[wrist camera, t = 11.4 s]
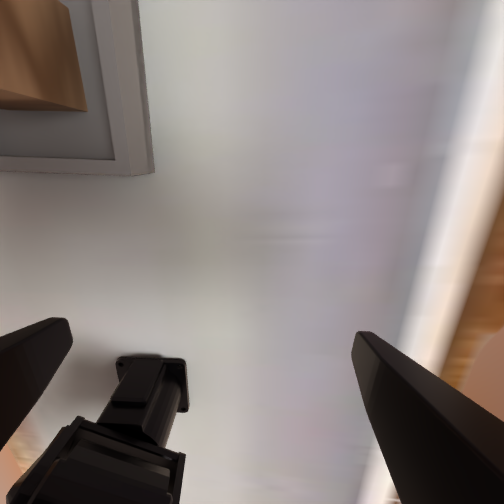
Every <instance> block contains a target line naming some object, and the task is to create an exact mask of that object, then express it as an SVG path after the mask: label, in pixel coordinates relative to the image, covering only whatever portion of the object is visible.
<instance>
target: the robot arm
mask: <svg viewBox="0 0 504 504" xmlns="http://www.w3.org/2000/svg"><path fill="white" fill-rule="evenodd" d="M72 343H73V337H72V334H71V330H70V326H69V323H68V320H67V319H65V318H59V317H51V318H48V319H45V320H43V321H40V322H37V323H35V324H32V325H30V326H27V327H24V328H22V329H19V330H17V331H14V332H12V333H9V334H6V335H4V336H1V337H0V451H1V450H2V448H3V447H4V446H5V444H6V443H7V441H8V440H9V439H10V437H11V436H12V435H13V433H14V432H15V431H16V429H17V428H18V427H19V425H20V424H21V422H22V421H23V420H24V418H25V417H26V416H27V414H28V413H29V412H30V410H31V409H32V408H33V406H34V405H35V403H36V402H37V401H38V399H39V398H40V396H41V395H42V393H43V392H44V390H45V389H46V387H47V386H48V384H49V382H50V381H51V379H52V378H53V376H54V374H55V373H56V371H57V369H58V368H59V366H60V365H61V363H62V361H63V360H64V358H65V356H66V355H67V353H68V352H69V350H70V348H71V346H72ZM351 357H352V362H353V366H354V369H355V373H356V377H357V380H358V384H359V388H360V391H361V395H362V399H363V402H364V406H365V409H366V412H367V415H368V418H369V420H370V423H371V425H372V428H373V431H374V433H375V436H376V438H377V441H378V444H379V446H380V449H381V451H382V454H383V457H384V459H385V462H386V464H387V467H388V470H389V472H390V475H391V477H392V480H393V483H394V485H395V488H396V490H397V493H398V496H399V498H400V501H401V503H402V504H504V422H503V421H502V420H500V419H498V418H497V417H496V416H494V415H493V414H491V413H489V412H488V411H487V410H485V409H484V408H482V407H481V406H480V405H478V404H477V403H475V402H474V401H472V400H471V399H469V398H468V397H466V396H465V395H463V394H462V393H461V392H459V391H458V390H456V389H455V388H453V387H452V386H450V385H449V384H447V383H446V382H444V381H443V380H441V379H440V378H439V377H437V376H436V375H434V374H433V373H431V372H430V371H428V370H427V369H425V368H424V367H422V366H421V365H419V364H418V363H417V362H415V361H414V360H412V359H411V358H409V357H408V356H406V355H405V354H403V353H402V352H400V351H399V350H397V349H396V348H395V347H393V346H392V345H390V344H389V343H387V342H386V341H384V340H383V339H381V338H380V337H378V336H377V335H375V334H374V333H372V332H370V331H358V332H357V333H356V335H355V339H354V343H353V348H352V352H351ZM179 365H181V366H179ZM116 369H117V373H118V378H119V385H118V386H117V388H116V389H115V391H114V393H113V394H112V396H111V398H110V401H109V402H108V404H107V406H106V407H105V409H104V411H103V412H102V414H101V415H100V417H99V419H98V420H97V422H96V423H93V422H90V421H88V420H85V418H84V417H81V416H77V417H76V418H75V420H74V421H73V422H72V423H71V425H70V426H69V425H67V426H66V427H62V428H61V430H60V431H59V433H58V434H57V435H56V437H55V438H54V439H53V441H52V442H51V444H50V445H49V446H48V448H47V449H46V450H45V451H44V453H43V454H42V455H41V456H40V457H39V458H38V459H37V460H36V461H35V462H34V463H33V464H32V466H31V467H30V468H29V469H28V470H27V471H26V472H25V473H24V474H23V475H22V476H21V477H20V478H19V479H18V480H17V482H16V483H15V484H14V485H13V486H12V488H11V489H10V491H9V492H8V494H7V495H6V504H179V501H180V494H181V487H182V479H183V472H184V465H185V458H186V454H184V453H181V452H179V453H177V452H174V451H171V450H168V449H166V448H165V447H166V444H167V441H168V437H169V434H170V431H171V428H172V425H173V422H174V419H175V416H176V412H180V413H186V412H187V411H188V410H189V393H188V380H187V367H186V362H185V361H183V360H173V359H151V358H129V357H120V358H119V359H118V360H117V362H116Z"/></svg>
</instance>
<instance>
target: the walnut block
mask: <svg viewBox="0 0 504 504" xmlns="http://www.w3.org/2000/svg"><path fill="white" fill-rule="evenodd" d="M0 109H5V110H23V111H75V112H88V109H87V104H86V98H85V93H84V88H83V82H82V77H81V72H80V67H79V61H78V56H77V51H76V45H75V40H74V35H73V29H72V24H71V19H70V14H69V8H68V7H66V6H65V5H64V4H62V3H61V2H60V1H59V0H0Z"/></svg>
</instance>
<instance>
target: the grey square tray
mask: <svg viewBox="0 0 504 504" xmlns="http://www.w3.org/2000/svg"><path fill="white" fill-rule="evenodd" d="M59 1H60V2H61V3H62V4H64V5H65V6H66V7H68V8H69V14H70V19H71V24H72V29H73V35H74V40H75V45H76V51H77V56H78V61H79V67H80V72H81V77H82V82H83V88H84V93H85V98H86V104H87V109H88V112H75V111H23V110H5V109H0V171H14V172H40V173H66V174H92V175H119V176H135V175H141V174H148V173H154V172H155V168H154V158H153V148H152V138H151V127H150V117H149V107H148V97H147V87H146V77H145V67H144V57H143V47H142V37H141V27H140V17H139V6H138V0H59Z"/></svg>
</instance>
